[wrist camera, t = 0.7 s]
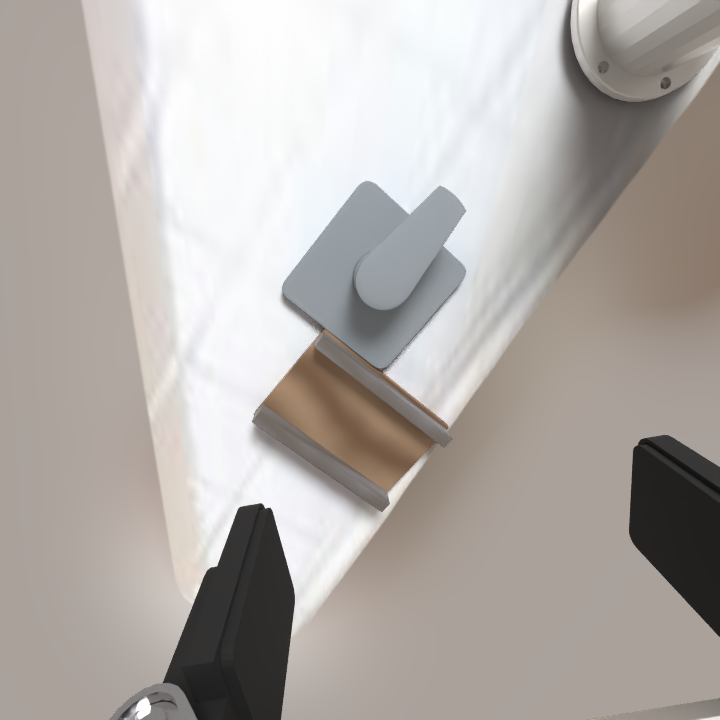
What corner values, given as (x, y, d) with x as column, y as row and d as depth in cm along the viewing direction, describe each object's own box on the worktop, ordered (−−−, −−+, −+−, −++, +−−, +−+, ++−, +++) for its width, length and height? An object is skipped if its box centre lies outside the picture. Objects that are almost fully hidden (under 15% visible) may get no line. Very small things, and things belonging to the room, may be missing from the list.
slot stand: (325, 326, 39) (325, 334, 36) (446, 423, 42) (454, 436, 39) (255, 410, 40) (249, 424, 38) (376, 496, 44) (379, 514, 41)
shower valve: (512, 249, 32) (388, 389, 35) (486, 248, 38) (380, 370, 40) (394, 136, 29) (269, 297, 32) (385, 151, 35) (278, 289, 37)
